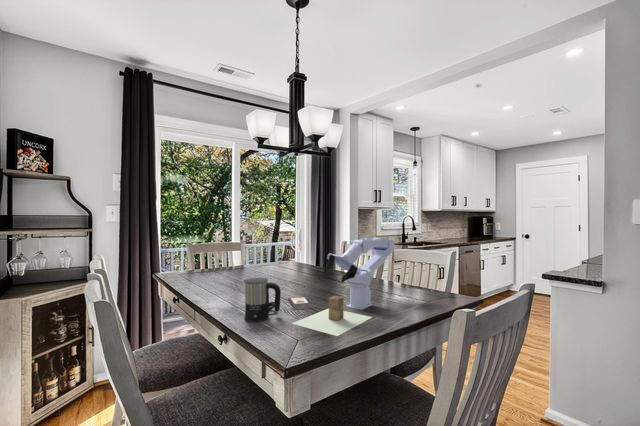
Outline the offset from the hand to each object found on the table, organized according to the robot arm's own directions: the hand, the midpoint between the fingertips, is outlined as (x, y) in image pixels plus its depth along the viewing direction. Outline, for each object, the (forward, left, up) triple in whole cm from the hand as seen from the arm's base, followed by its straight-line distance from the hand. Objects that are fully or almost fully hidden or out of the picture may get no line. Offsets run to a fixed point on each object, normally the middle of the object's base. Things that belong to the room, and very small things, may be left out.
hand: (333, 275), depth 124 cm
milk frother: (+13, -26, -17) cm, 34 cm away
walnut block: (0, +1, -16) cm, 16 cm away
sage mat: (+2, +1, -17) cm, 17 cm away
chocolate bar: (-8, -23, -17) cm, 30 cm away
